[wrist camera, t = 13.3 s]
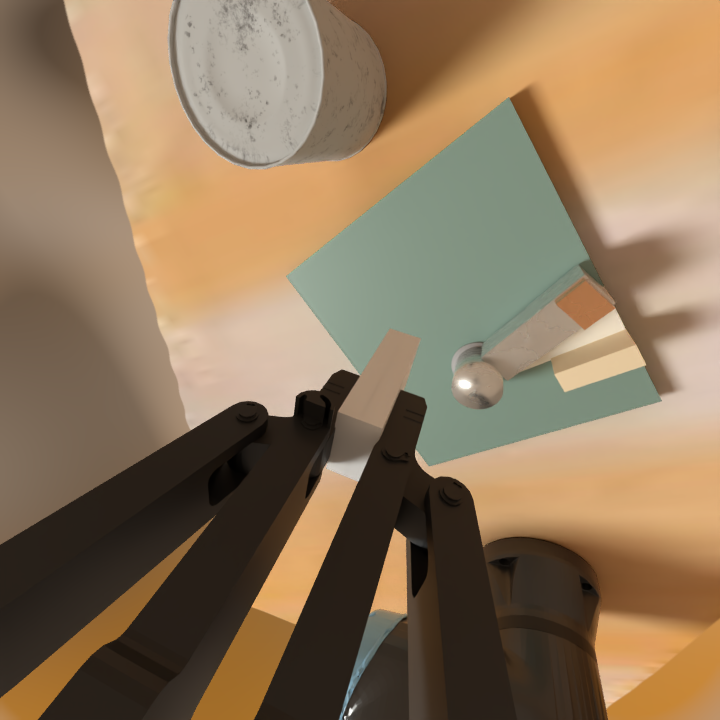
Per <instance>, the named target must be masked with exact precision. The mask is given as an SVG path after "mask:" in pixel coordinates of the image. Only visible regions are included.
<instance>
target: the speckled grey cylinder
mask: <svg viewBox="0 0 720 720" xmlns="http://www.w3.org/2000/svg"><path fill="white" fill-rule="evenodd" d="M168 50H169V63H170V68H171V73H172V77H173V82H174V86H175V89H176V92H177V95H178V97H179V100H180V103H181V105H182V108H183V110H184V112H185V114H186V115H187V117H188V119H189V121H190V123H191V125H192V127H193V128H194V129H195V131H196V132H197V133H198V134H199V136H200V137H201V138H202V140H203V141H204V142H205V143H206V144H207V145H208V146H209V147H210V148H211V149H212V150H213V151H214V152H216V153H217V154H218V155H219V156H220V157H222V158H224V159H226V160H227V161H229V162H231V163H232V164H234V165H237V166H241V167H244V168H248V169H268V168H271V167H275V166H283V165H292V164H302V163H312V162H321V161H340V160H344V159H347V158H350V157H352V156H354V155H355V154H357V153H359V152H360V151H361V150H362V149H363V148H364V147H365V146H366V145H367V144H368V143H369V142H370V141H371V139H372V138H373V136H374V135H375V133H376V132H377V130H378V128H379V125H380V123H381V120H382V118H383V114H384V109H385V104H386V96H387V81H386V74H385V68H384V64H383V61H382V58H381V55H380V53H379V50H378V48H377V46H376V45H375V43H374V42H373V40H372V38H371V37H370V35H369V34H368V33H367V32H366V31H365V30H364V29H363V28H362V27H361V26H360V25H359V24H357V23H355V22H354V21H352V20H350V19H349V18H348V17H346V16H345V15H344V14H343V13H342V12H340V11H339V10H338V9H337V8H335V7H334V6H333V5H332V4H331V3H329V2H328V1H327V0H173V3H172V7H171V11H170V15H169V28H168Z"/></svg>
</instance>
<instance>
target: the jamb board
mask: <svg viewBox="0 0 720 720" xmlns="http://www.w3.org/2000/svg"><path fill="white" fill-rule="evenodd" d="M576 265H580V266H581V267H582V268H583V269H584V270H585V271H586V272H587V273H588V274H589V275H590V276H592V277H593V278H594V279H595V280H596V281H597V282H598V283H599V284H600V285H601V286H602V287H604V285H603V283H602V281H601V279H600V277H599V275H598V273H597V271H596V269H595V267H594V265H593V263H592V261H591V259H590V257H589V255H588V253H587V251H586V249H585V247H584V245H583V243H582V241H581V239H580V237H579V235H578V233H577V231H576V229H575V227H574V225H573V223H572V222H571V220H570V218H569V216H568V214H567V212H566V210H565V208H564V206H563V204H562V202H561V200H560V198H559V196H558V194H557V192H556V190H555V188H554V186H553V184H552V182H551V180H550V178H549V176H548V174H547V172H546V170H545V168H544V166H543V164H542V162H541V160H540V158H539V156H538V154H537V152H536V150H535V148H534V146H533V144H532V142H531V140H530V138H529V136H528V134H527V132H526V130H525V128H524V126H523V124H522V122H521V120H520V118H519V116H518V114H517V112H516V110H515V108H514V106H513V104H512V102H511V100H510V98H509V97H508V98H507V99H506V100H505V101H503V102H502V103H501V104H500V105H498V106H497V107H496V108H495V109H493V110H492V111H491V112H490V113H489V114H487V115H486V116H485V117H484V118H482V119H481V120H480V121H479V122H477V123H476V124H475V125H474V126H472V127H471V128H470V129H469V130H467V131H466V132H465V133H464V134H462V135H461V136H460V137H459V138H457V139H456V140H455V141H454V142H452V143H451V144H450V145H449V146H447V147H446V148H445V149H444V150H442V151H441V152H440V153H439V154H438V155H436V156H435V157H434V158H433V159H431V160H430V161H429V162H428V163H426V164H425V165H424V166H423V167H421V168H420V169H419V170H418V171H416V172H415V173H414V174H413V175H411V176H410V177H409V178H408V179H406V180H405V181H404V182H403V183H401V184H400V185H399V186H398V187H396V188H395V189H394V190H393V191H391V192H390V193H389V194H388V195H387V196H385V197H384V198H383V199H382V200H380V201H379V202H378V203H377V204H375V205H374V206H373V207H372V208H370V209H369V210H368V211H367V212H365V213H364V214H363V215H362V216H360V217H359V218H358V219H357V220H355V221H354V222H353V223H352V224H350V225H349V226H348V227H347V228H345V229H344V230H343V231H342V232H340V233H339V234H338V235H337V236H336V237H334V238H333V239H332V240H331V241H329V242H328V243H327V244H326V245H324V246H323V247H322V248H321V249H319V250H318V251H317V252H316V253H314V254H313V255H312V256H311V257H309V258H308V259H307V260H306V261H304V262H303V263H302V264H301V265H299V266H298V267H297V268H296V269H294V270H293V271H292V272H291V273H289V274H288V275H287V276H286V277H287V278H288V280H289V281H290V282H291V284H292V285H293V286H294V288H295V289H296V290H297V292H298V293H299V294H300V296H301V297H302V298H303V300H304V301H305V302H306V304H307V305H308V306H309V308H310V309H311V310H312V312H313V313H314V314H315V316H316V317H317V318H318V320H319V321H320V322H321V323H322V325H323V326H324V327H325V329H326V330H327V331H328V333H329V334H330V335H331V337H332V338H333V339H334V341H335V342H336V343H337V345H338V346H339V347H340V349H341V350H342V351H343V353H344V354H345V355H346V357H347V358H348V359H349V361H350V362H351V363H352V365H353V366H354V367H355V369H356V370H357V371H358V373H359V374H360V375H361V374H362V372H363V371H364V369H365V367H366V366H367V364H368V363H369V361H370V359H371V358H372V356H373V355H374V353H375V351H376V350H377V348H378V347H379V345H380V343H381V342H382V340H383V339H384V337H385V336H386V334H387V332H388V331H389V329H393V330H396V331H399V332H402V333H405V334H408V335H412V336H415V337H418V338H421V340H420V343H419V346H418V349H417V352H416V355H415V358H414V361H413V364H412V368H411V371H410V374H409V377H408V380H407V383H406V386H405V388H404V391H406V392H409V393H412V394H415V395H417V396H420V397H423V398H425V401H426V405H427V410H426V414H425V417H424V421H423V424H422V428H421V431H420V435H419V438H418V442H417V445H416V450H417V451H418V452H419V454H420V455H421V456H422V458H423V459H424V460H425V462H426V463H427V464H428V466H432V465H436V464H439V463H443V462H446V461H450V460H454V459H457V458H461V457H464V456H468V455H471V454H475V453H479V452H482V451H486V450H489V449H493V448H496V447H500V446H504V445H507V444H511V443H514V442H518V441H521V440H525V439H528V438H532V437H536V436H539V435H543V434H546V433H550V432H553V431H557V430H561V429H564V428H568V427H571V426H575V425H578V424H582V423H586V422H589V421H593V420H596V419H600V418H603V417H607V416H610V415H614V414H618V413H621V412H625V411H628V410H632V409H635V408H639V407H643V406H646V405H650V404H653V403H657V402H660V401H662V400H661V398H660V396H659V394H658V392H657V390H656V388H655V386H654V385H653V383H652V381H651V379H650V377H649V375H648V373H647V371H646V369H645V367H644V366H646V363H645V361H644V359H643V357H642V355H641V353H640V351H639V349H638V347H637V345H636V344H635V342H634V341H633V339H632V338H631V336H630V335H629V333H628V332H627V330H626V329H625V327H624V325H623V323H622V321H621V319H620V317H619V315H618V313H617V311H616V309H614V310H612V311H611V312H610V313H608V314H607V315H605V316H604V317H603V318H601V319H600V320H598V321H597V322H595V323H594V324H593V325H591V326H590V327H588V328H587V329H586V330H584V329H583V328H581V329H580V330H578V331H577V332H575V333H574V334H573V335H571V336H570V337H568V338H567V339H566V340H564V341H563V342H561V343H560V344H559V345H557V346H556V347H554V348H553V349H551V350H550V351H549V352H547V353H546V354H544V355H543V356H542V357H540V358H539V359H537V360H536V361H535V362H533V363H532V364H530V365H529V366H528V367H526V368H525V369H523V370H522V371H521V372H519V373H518V374H516V375H515V376H514V377H512V378H511V379H509V380H508V381H507V380H506V379H505V378H504V377H503V395H502V398H501V399H500V401H499V402H498V403H497V404H495V405H494V406H492V407H490V408H487V409H471V408H468V407H466V406H464V405H462V404H460V403H459V402H458V401H457V400H456V399H455V397H454V396H453V393H452V389H451V386H452V381H453V376H454V371H455V366H456V361H457V359H458V357H459V355H460V354H461V353H462V352H464V351H465V350H467V349H469V348H473V347H482V343H484V342H485V341H486V340H487V339H488V338H490V337H491V336H492V335H493V334H494V333H496V332H497V331H498V330H499V329H500V328H502V327H503V326H504V325H505V324H506V323H508V322H509V321H510V320H511V319H512V318H514V317H515V316H516V315H517V314H519V313H520V312H521V311H522V310H523V309H525V308H526V307H527V306H528V305H529V304H531V303H532V302H533V301H534V300H535V299H537V298H538V297H539V296H540V295H541V294H543V293H544V292H545V291H546V290H547V289H549V288H550V287H551V286H552V285H553V284H555V283H556V282H557V281H558V280H559V279H561V278H562V277H563V276H564V275H565V274H567V273H568V272H569V271H570V270H572V269H573V268H574V267H575V266H576ZM604 288H605V287H604ZM613 306H614V305H613Z"/></svg>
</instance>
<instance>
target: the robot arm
mask: <svg viewBox="0 0 720 720" xmlns="http://www.w3.org/2000/svg"><path fill="white" fill-rule="evenodd" d="M420 340H421V338H418V337H415V336H412V335H408V334H405V333H402V332H399V331H396V330H393V329H389V331H388V332H387V334H386V336H385V337H384V339H383V340H382V342H381V343H380V345H379V347H378V348H377V350H376V351H375V353H374V355H373V356H372V358H371V359H370V361H369V363H368V364H367V366H366V367H365V369H364V371H363V372H362V374H361V375H360V376H359V375H356V374H353V373H351V372H348V371H345V370H340V371H338V372H336V373H334V374H332V376H331V377H330V378H329V380H328V381H327V383H326V384H325V385H324V386H323V388H322V389H321V390H320V391H316V390H311V391H305V392H301V393H300V394H299V395H297V396H296V402H295V410H294V416H293V417H277V416H269V415H268V412H267V409H266V408H265V407H264V406H263V405H261V404H259V403H257V402H251V401H246V402H239V403H237V404H235V405H232V406H231V407H229V408H227V409H226V410H224V411H222V412H221V413H219V414H217V415H216V416H214V417H212V418H211V419H209V420H207V421H206V422H204V423H202V424H201V425H199V426H197V427H196V428H194V429H192V430H191V431H189V432H188V433H186V434H184V435H183V436H181V437H179V438H177V439H176V440H174V441H172V442H171V443H169V444H167V445H166V446H164V447H162V448H161V449H159V450H157V451H156V452H154V453H152V454H151V455H149V456H148V457H146V458H144V459H143V460H141V461H139V462H138V463H136V464H134V465H133V466H131V467H129V468H128V469H126V470H124V471H123V472H121V473H119V474H118V475H116V476H114V477H113V478H111V479H109V480H108V481H106V482H104V483H103V484H101V485H99V486H98V487H96V488H94V489H93V490H91V491H89V492H88V493H86V494H84V495H83V496H81V497H79V498H78V499H76V500H74V501H73V502H71V503H69V504H68V505H66V506H64V507H63V508H61V509H59V510H58V511H56V512H54V513H53V514H51V515H49V516H48V517H46V518H44V519H43V520H41V521H39V522H38V523H36V524H34V525H33V526H31V527H29V528H28V529H26V530H24V531H23V532H21V533H20V534H18V535H16V536H14V537H13V538H11V539H9V540H8V541H6V542H4V543H3V544H1V545H0V698H1V696H3V695H4V694H6V693H7V692H8V691H9V690H11V689H12V688H13V687H14V686H16V685H17V684H18V683H19V682H20V681H21V680H23V679H24V678H25V677H26V676H27V675H29V674H30V673H31V672H32V671H33V670H34V669H35V668H37V667H38V666H39V665H40V664H41V663H43V662H44V661H45V660H46V659H47V658H48V657H50V656H51V655H52V654H53V653H54V652H55V651H57V650H58V649H59V648H60V647H61V646H63V645H64V644H65V643H66V642H67V641H68V640H69V639H71V638H72V637H73V636H74V635H76V634H77V633H78V632H79V631H80V630H81V629H83V628H84V627H85V626H86V625H87V624H88V623H90V622H91V621H92V620H93V619H94V618H95V617H97V616H98V615H99V614H100V613H101V612H102V611H104V610H105V609H106V608H107V607H108V606H110V605H111V604H112V603H113V602H114V601H115V600H116V599H118V598H119V597H120V596H121V595H122V594H124V593H125V592H126V591H127V590H128V589H129V588H131V587H132V586H133V585H134V584H135V583H137V581H139V580H140V579H141V578H142V577H144V576H145V575H146V574H147V573H148V572H149V571H150V570H152V569H153V568H154V567H155V566H156V565H158V564H159V563H160V562H161V561H162V560H164V559H165V558H166V557H167V556H168V555H169V554H171V553H172V552H173V551H174V550H175V549H177V548H178V547H179V546H180V545H181V544H182V543H184V542H185V541H186V540H187V539H188V538H189V537H191V536H192V535H193V534H194V533H195V532H196V531H198V530H199V529H200V528H201V527H202V526H203V525H205V524H206V523H207V522H208V521H209V520H211V519H212V518H213V517H214V516H215V515H216V514H217V515H216V516H215V517H214V518H213V520H212V521H211V522H210V524H209V525H208V526H207V527H206V529H205V530H204V531H203V533H202V534H201V535H200V536H199V538H198V539H197V540H196V542H195V543H194V544H193V545H192V547H191V548H190V549H189V550H188V552H187V553H186V554H185V556H184V557H183V558H182V560H181V561H180V562H179V563H178V565H177V566H176V567H175V568H174V570H173V571H172V572H171V574H170V575H169V576H168V577H167V579H166V580H165V581H164V583H163V584H162V585H161V587H160V588H159V589H158V590H157V592H156V593H155V594H154V595H153V597H152V598H151V599H150V601H149V602H148V603H147V605H146V606H145V607H144V608H143V609H142V611H141V612H140V613H139V615H138V616H137V617H136V618H135V620H134V621H133V622H132V624H131V625H130V626H129V628H128V629H127V630H126V631H125V632H124V633H123V634H122V635H121V636H120V637H119V638H118V639H116V640H114V641H112V642H110V643H108V644H105V645H103V646H102V647H101V648H100V649H99V650H97V651H96V652H95V653H94V654H92V655H91V656H90V658H89V659H88V660H87V661H86V662H85V663H84V664H83V665H82V666H81V667H80V669H79V670H78V671H77V672H76V673H75V675H74V676H73V677H72V679H71V680H70V681H69V682H68V683H67V685H66V686H65V687H64V688H63V690H62V691H61V692H60V693H59V695H58V696H57V697H56V698H55V700H54V701H53V702H52V703H51V704H50V705H49V707H48V708H47V709H46V710H45V712H44V713H43V714H42V715H41V717H40V718H39V719H38V720H191V718H192V716H193V713H194V711H195V709H196V707H197V705H198V704H199V702H200V700H201V698H202V696H203V694H204V692H205V690H206V689H207V687H208V685H209V683H210V682H211V680H212V678H213V676H214V674H215V672H216V670H217V669H218V667H219V665H220V663H221V661H222V660H223V658H224V656H225V654H226V652H227V650H228V649H229V647H230V645H231V643H232V641H233V639H234V637H235V635H236V634H237V632H238V630H239V628H240V627H241V625H242V623H243V621H244V619H245V617H246V615H247V614H248V612H249V610H250V608H251V606H252V604H253V603H254V601H255V599H256V597H257V595H258V593H259V592H260V590H261V588H262V586H263V584H264V582H265V581H266V579H267V577H268V575H269V573H270V571H271V570H272V568H273V566H274V564H275V562H276V560H277V559H278V557H279V555H280V553H281V551H282V549H283V548H284V546H285V544H286V542H287V540H288V538H289V537H290V535H291V533H292V531H293V529H294V527H295V526H296V524H297V522H298V520H299V518H300V516H301V515H302V513H303V511H304V509H305V507H306V505H307V504H308V502H309V500H310V498H311V496H312V494H313V493H314V491H315V489H316V487H317V485H318V483H319V482H320V479H321V475H322V470H323V468H324V466H325V465H326V463H327V467H326V469H328V470H331V471H333V472H336V473H338V474H341V475H343V476H345V477H348V478H350V479H353V480H355V481H358V484H357V486H356V488H355V491H354V493H353V495H352V497H351V500H350V502H349V504H348V507H347V509H346V511H345V514H344V516H343V518H342V520H341V523H340V525H339V527H338V530H337V532H336V534H335V537H334V539H333V541H332V543H331V546H330V548H329V550H328V553H327V555H326V557H325V559H324V562H323V564H322V566H321V569H320V571H319V573H318V576H317V578H316V580H315V582H314V585H313V587H312V589H311V592H310V594H309V596H308V599H307V601H306V603H305V605H304V608H303V610H302V612H301V615H300V617H299V619H298V622H297V624H296V626H295V629H294V631H293V633H292V635H291V638H290V640H289V642H288V645H287V647H286V649H285V651H284V654H283V656H282V658H281V661H280V663H279V665H278V668H277V670H276V672H275V674H274V677H273V679H272V681H271V684H270V686H269V688H268V691H267V693H266V695H265V697H264V700H263V702H262V704H261V706H260V709H259V711H258V713H257V715H256V717H255V719H254V720H608V718H607V712H606V706H605V701H604V696H603V691H602V685H601V680H600V675H599V670H598V664H597V659H596V654H595V639H596V633H597V626H598V620H599V613H600V607H601V594H600V589H599V585H598V580H597V576H596V574H595V572H594V571H593V569H592V568H591V566H590V565H589V564H588V563H587V562H586V561H585V560H583V559H582V558H581V557H579V556H578V555H576V554H575V553H573V552H572V551H570V550H568V549H566V548H563V547H561V546H559V545H556V544H553V543H550V542H546V541H542V540H537V539H530V538H508V539H502V540H498V541H494V542H492V543H490V544H488V545H486V546H485V547H483V546H482V541H481V536H480V531H479V526H478V521H477V516H476V511H475V506H474V501H473V498H472V495H471V493H470V491H469V490H468V489H467V488H466V486H465V485H464V484H462V483H461V482H459V481H458V480H456V479H453V478H451V477H438V478H435V479H434V478H433V477H431V476H430V475H429V474H427V473H426V472H425V471H424V470H422V468H421V467H420V466H419V465H418V463H417V461H416V458H415V449H416V445H417V442H418V438H419V435H420V431H421V428H422V424H423V421H424V417H425V414H426V410H427V405H426V401H425V398H423V397H420V396H417V395H415V394H412V393H409V392H406V391H404V388H405V386H406V383H407V380H408V377H409V374H410V371H411V368H412V364H413V361H414V358H415V355H416V352H417V349H418V346H419V343H420ZM327 461H328V462H327ZM394 528H395V529H396V530H398V531H399V532H400V533H401V534H402V535H404V536H405V537H406V538H407V539H406V557H407V614H399V613H395V612H391V611H387V610H383V609H379V610H375V611H373V612H372V613H370V610H371V607H372V603H373V600H374V596H375V593H376V589H377V586H378V582H379V579H380V575H381V572H382V568H383V565H384V561H385V558H386V554H387V551H388V547H389V544H390V540H391V537H392V533H393V530H394Z"/></svg>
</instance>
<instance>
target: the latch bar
mask: <svg viewBox="0 0 720 720" xmlns="http://www.w3.org/2000/svg"><path fill="white" fill-rule="evenodd" d="M615 304H616V303H615V301H614V300H613V298H612V297H611V296H610V294H609V293H608V291H607V290H606V289H605V288H604V287H602V286H601V285H600V284H599V283H598V282H597V281H596V280H595V279H594V278H593V277H592V276H590V275H589V274H588V273H587V272H586V271H585V270H584V269H583V268H582V267H581V266H580V265H576V266H575V267H574V268H573V269H572V270H570V271H569V272H568V273H567V274H565V275H564V276H563V277H562V278H561V279H559V280H558V281H557V282H556V283H555V284H553V285H552V286H551V287H550V288H549V289H547V290H546V291H545V292H544V293H543V294H541V295H540V296H539V297H538V298H537V299H535V300H534V301H533V302H532V303H531V304H529V305H528V306H527V307H526V308H525V309H523V310H522V311H521V312H520V313H519V314H517V315H516V316H515V317H514V318H512V319H511V320H510V321H509V322H508V323H506V324H505V325H504V326H503V327H502V328H500V329H499V330H498V331H497V332H496V333H494V334H493V335H492V336H491V337H490V338H488V339H487V340H486V341H485V342H484V343H482V347H473V348H469V349H467V350H465V351H464V352H462V353H461V354H460V355H459V357H458V359H457V361H456V366H455V371H454V376H453V381H452V386H451V389H452V393H453V396H454V397H455V399H456V400H457V401H458V402H459V403H460V404H462V405H464V406H466V407H468V408H471V409H487V408H490V407H492V406H494V405H495V404H497V403H498V402H499V401H500V399H501V398H502V395H503V377H504V378H505V379H506V380H507V381H508V380H509V379H511V378H512V377H514V376H515V375H516V374H518V373H519V372H521V371H522V370H523V369H525V368H526V367H528V366H529V365H530V364H532V363H533V362H535V361H536V360H537V359H539V358H540V357H542V356H543V355H544V354H546V353H547V352H549V351H550V350H551V349H553V348H554V347H556V346H557V345H559V344H560V343H561V342H563V341H564V340H566V339H567V338H568V337H570V336H571V335H573V334H574V333H575V332H577V331H578V330H580V329H581V328H583V329H584V330H586V329H587V328H588V327H590V326H591V325H593V324H594V323H595V322H597V321H598V320H600V319H601V318H603V317H604V316H605V315H607V314H608V313H610V312H611V311H612V310H614V309H615V307H614V306H613V305H615Z"/></svg>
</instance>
